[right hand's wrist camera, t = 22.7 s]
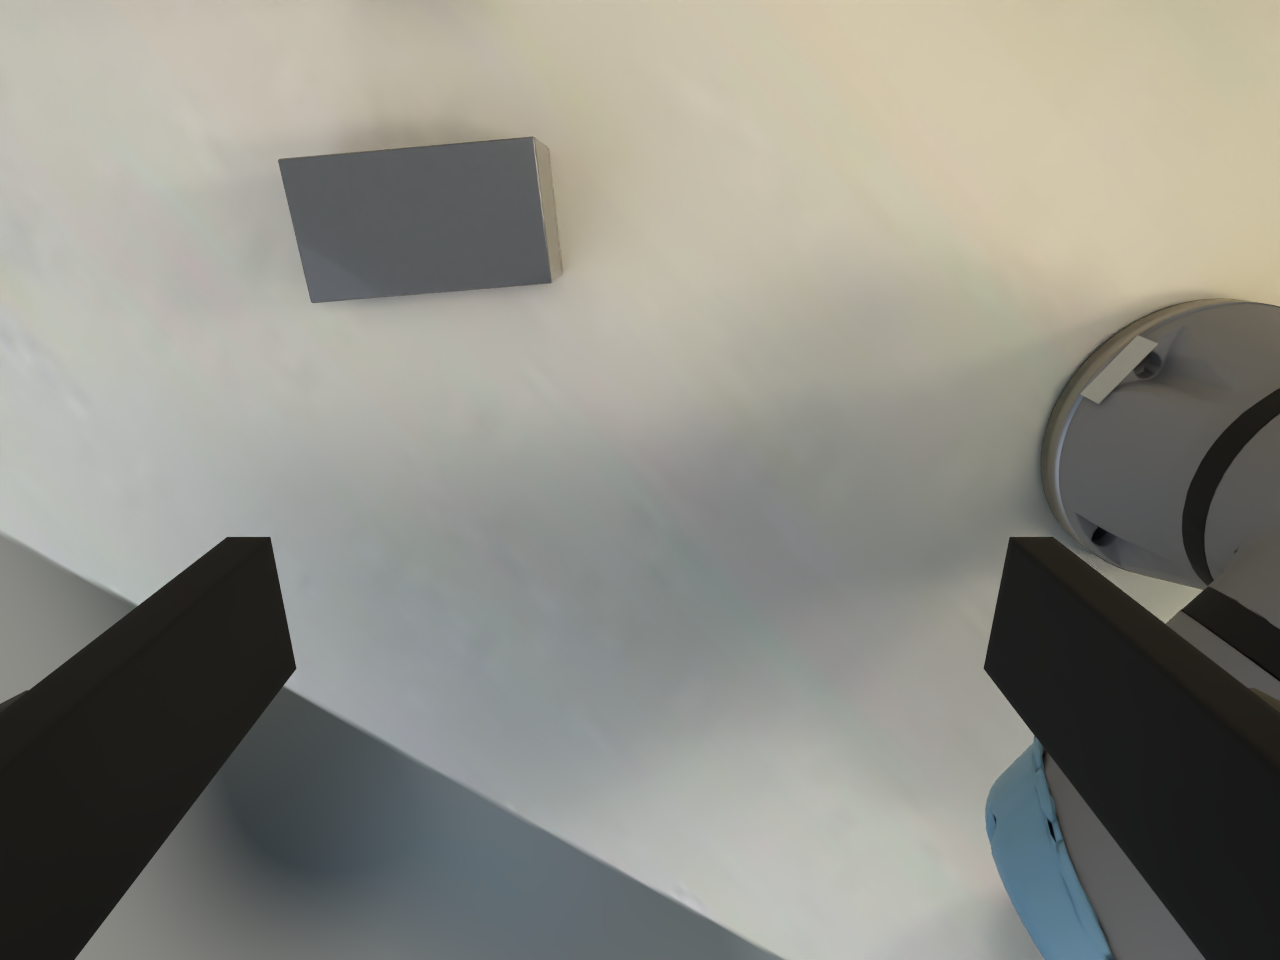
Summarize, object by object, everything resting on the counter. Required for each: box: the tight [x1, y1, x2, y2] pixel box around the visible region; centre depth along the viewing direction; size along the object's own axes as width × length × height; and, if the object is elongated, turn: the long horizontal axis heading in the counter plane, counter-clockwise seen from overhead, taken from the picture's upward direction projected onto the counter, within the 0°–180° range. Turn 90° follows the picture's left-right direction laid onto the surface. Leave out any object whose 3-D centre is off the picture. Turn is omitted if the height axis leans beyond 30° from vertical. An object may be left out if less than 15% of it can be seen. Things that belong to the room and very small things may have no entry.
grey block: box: [278, 137, 563, 303], centre depth 33 cm, size 11×6×5 cm, turn 95°
